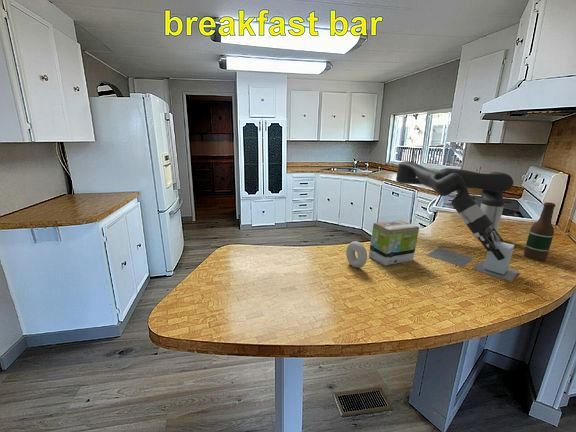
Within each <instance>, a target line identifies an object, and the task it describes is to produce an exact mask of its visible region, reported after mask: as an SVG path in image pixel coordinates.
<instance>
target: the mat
mask: <svg viewBox="0 0 576 432" xmlns="http://www.w3.org/2000/svg"><path fill="white" fill-rule="evenodd" d="M425 257H430V258H433V259H436V260H440V261H442V262H445V263H448V264H452V265H456V266H459V267H461V268H463V267H464V266H466V265H467V264H468V263H470V262H471V261H472V260H474V257H473V256H469V255H465V254H462V253H459V252H455V251H452V250H449V249H445V248H443V247H438V248H436V249H434V250H432V251H431V252H428V253H426V254H425Z"/></svg>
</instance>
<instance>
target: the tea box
mask: <svg viewBox="0 0 576 432" xmlns="http://www.w3.org/2000/svg"><path fill="white" fill-rule="evenodd" d="M419 232H420V227H419V226H418V225H415V224H413V223H409V222H407V221H404V220H402V219H400V220H399V219H398V220H390V221H382V222H381V221H380V222H373V225H372V231H371V238H370V244H369V245H370V246H369V250H368V257H369V258H371V259H372V260H374V261H376V262H378V263H379V264H381V265H382V266H385V267H386V266H390V265H395V264H400V263H405V262H409V261H413V260H414V257H415V253H416V246H417V243H418V242H417V241H418V236H419Z"/></svg>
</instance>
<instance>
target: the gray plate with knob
mask: <svg viewBox="0 0 576 432" xmlns="http://www.w3.org/2000/svg"><path fill="white" fill-rule="evenodd" d="M484 263H485V260H481V261H479V263H477V264H476V265H475V266H474V267H473V268H472V270H473V271H477V272H479V273H483V274H486V275H490V276H491V277H494V278H495V277H496V278H499V279H502V280H503V281H505V282H508V281H509V282H508V283H512V282H513V281H514V279H515V277H516V276H517V275H518V274H519V272H520V271H519V270H516V269H513V268H508V270H507V271H506V273H505V274H504V275H503V274H500V273H496V272H493V271H490V270H487V269H483V267H484ZM511 281H512V282H511Z"/></svg>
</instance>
